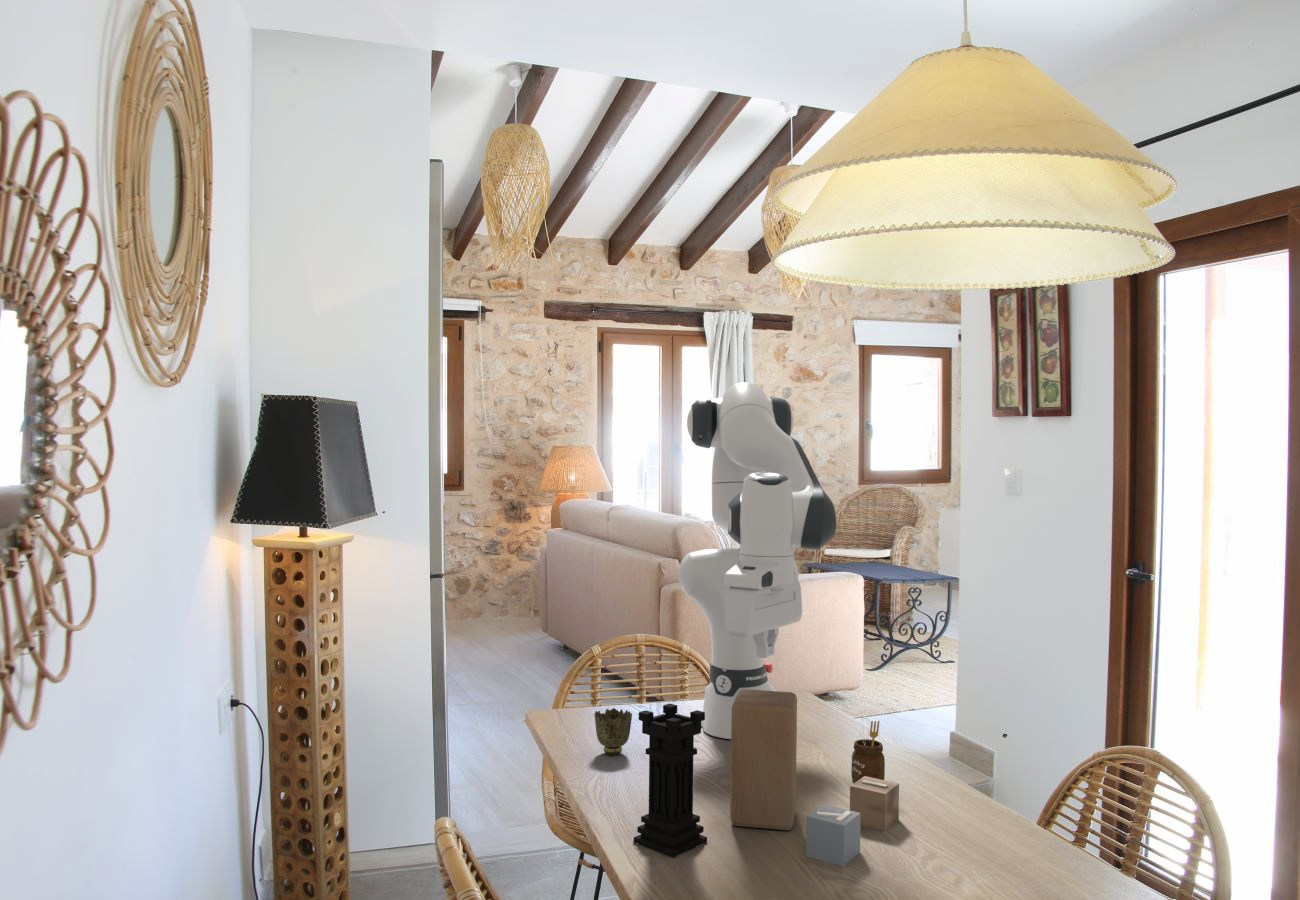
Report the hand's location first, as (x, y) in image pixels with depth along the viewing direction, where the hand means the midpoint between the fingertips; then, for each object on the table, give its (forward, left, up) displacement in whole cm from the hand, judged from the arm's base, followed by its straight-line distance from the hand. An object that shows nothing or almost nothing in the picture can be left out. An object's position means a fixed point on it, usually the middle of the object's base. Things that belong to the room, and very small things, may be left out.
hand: (765, 656), depth 159 cm
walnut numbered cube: (-10, +15, -27) cm, 32 cm away
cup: (-12, -40, -27) cm, 50 cm away
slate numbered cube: (+6, +15, -27) cm, 31 cm away
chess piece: (+17, -7, -27) cm, 33 cm away
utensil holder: (-27, +7, -27) cm, 39 cm away
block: (0, 0, -27) cm, 27 cm away
